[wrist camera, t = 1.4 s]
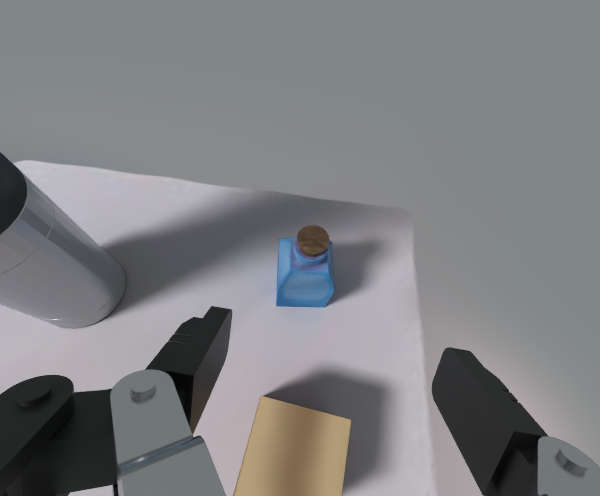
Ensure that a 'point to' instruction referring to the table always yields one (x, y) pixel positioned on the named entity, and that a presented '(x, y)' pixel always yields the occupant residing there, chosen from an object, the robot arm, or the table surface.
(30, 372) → the table surface
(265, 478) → the tower top block
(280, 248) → the perfume bottle
